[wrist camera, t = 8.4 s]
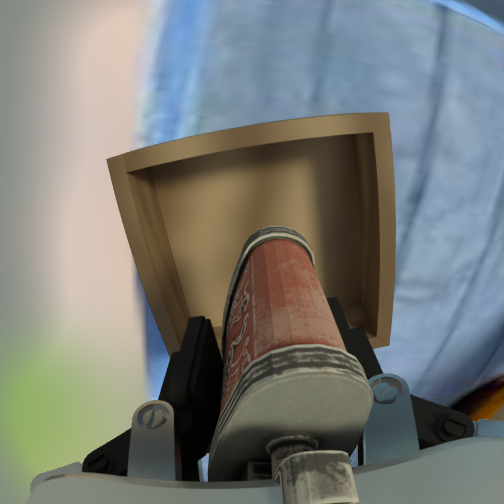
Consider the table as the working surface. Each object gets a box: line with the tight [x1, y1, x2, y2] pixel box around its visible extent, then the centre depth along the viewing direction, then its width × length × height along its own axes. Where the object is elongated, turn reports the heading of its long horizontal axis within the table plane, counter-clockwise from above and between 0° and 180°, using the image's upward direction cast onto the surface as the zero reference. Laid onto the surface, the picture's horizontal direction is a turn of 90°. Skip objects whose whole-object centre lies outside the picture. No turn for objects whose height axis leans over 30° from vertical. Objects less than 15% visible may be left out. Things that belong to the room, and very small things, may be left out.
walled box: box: [106, 113, 396, 358], centre depth 20 cm, size 15×15×5 cm
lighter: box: [208, 226, 373, 504], centre depth 9 cm, size 8×3×10 cm, turn 171°
